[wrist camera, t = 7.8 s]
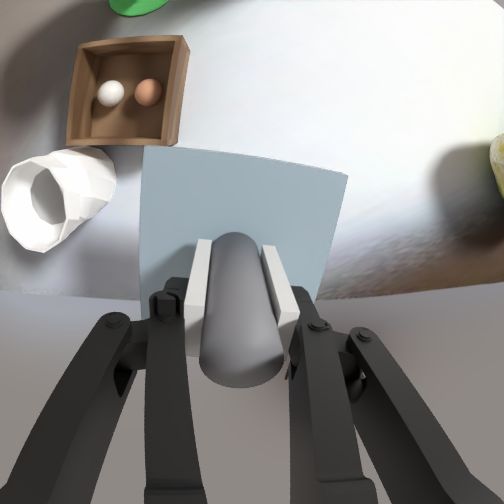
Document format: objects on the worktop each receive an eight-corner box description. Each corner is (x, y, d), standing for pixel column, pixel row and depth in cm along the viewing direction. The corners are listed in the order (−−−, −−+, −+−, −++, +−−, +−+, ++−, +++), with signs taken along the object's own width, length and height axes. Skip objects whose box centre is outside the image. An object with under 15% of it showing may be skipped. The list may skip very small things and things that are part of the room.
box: (90, 141, 28) (65, 146, 23) (100, 54, 24) (78, 43, 18) (177, 143, 30) (166, 146, 24) (190, 51, 25) (182, 35, 20)
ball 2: (137, 106, 27) (129, 105, 24) (141, 81, 25) (133, 77, 23) (163, 107, 27) (157, 105, 24) (167, 81, 26) (161, 76, 23)
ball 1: (102, 107, 26) (91, 106, 23) (105, 82, 25) (94, 79, 22) (126, 107, 26) (116, 105, 24) (129, 81, 25) (120, 77, 22)
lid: (144, 312, 20) (108, 423, 11) (148, 145, 16) (60, 171, 6) (300, 327, 22) (336, 435, 13) (342, 172, 17) (444, 225, 8)
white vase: (124, 152, 29) (75, 168, 19) (110, 220, 33) (66, 264, 22) (64, 139, 28) (4, 151, 17) (55, 204, 31) (0, 239, 20)
